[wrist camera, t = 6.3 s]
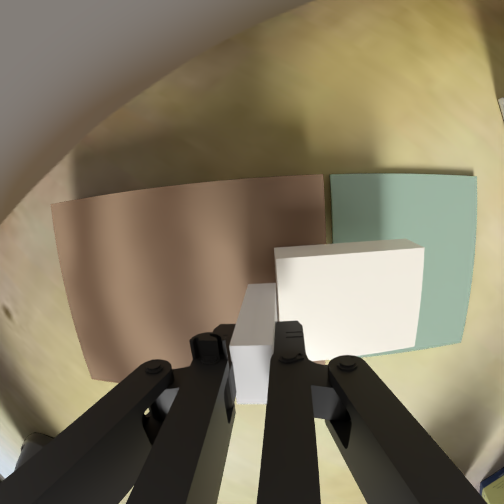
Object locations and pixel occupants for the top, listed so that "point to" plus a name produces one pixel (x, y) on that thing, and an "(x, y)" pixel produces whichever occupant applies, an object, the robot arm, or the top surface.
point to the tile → (351, 295)
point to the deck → (175, 262)
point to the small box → (501, 105)
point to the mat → (417, 238)
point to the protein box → (493, 488)
